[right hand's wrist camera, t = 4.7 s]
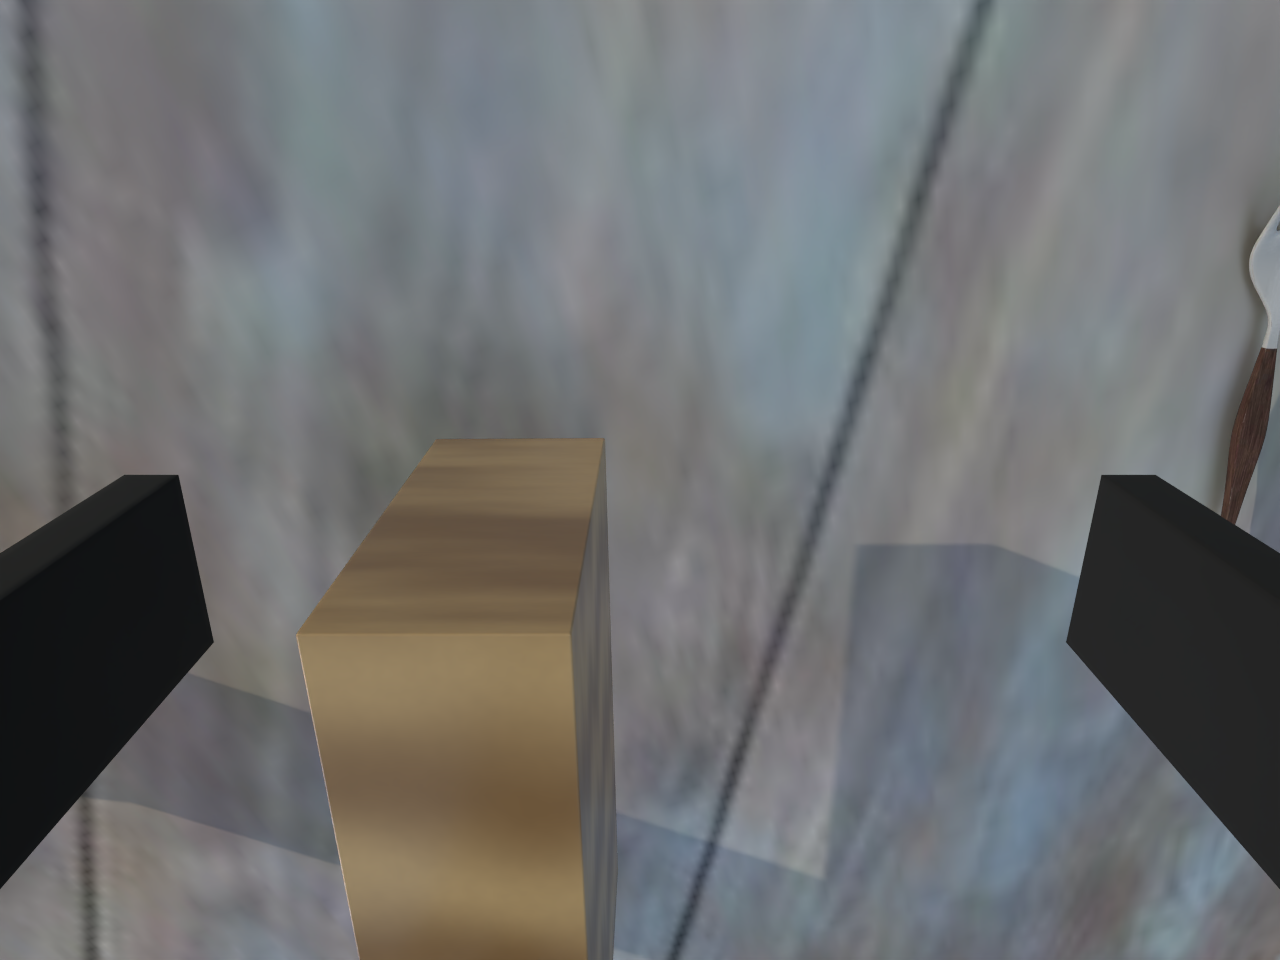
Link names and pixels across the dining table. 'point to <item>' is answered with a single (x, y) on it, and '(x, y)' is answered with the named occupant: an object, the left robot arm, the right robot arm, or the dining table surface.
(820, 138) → the dining table surface
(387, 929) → the box
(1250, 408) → the fork
